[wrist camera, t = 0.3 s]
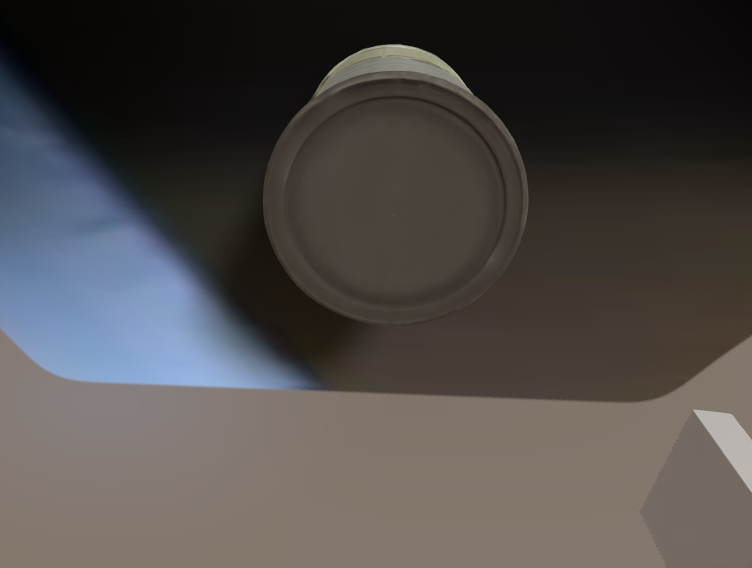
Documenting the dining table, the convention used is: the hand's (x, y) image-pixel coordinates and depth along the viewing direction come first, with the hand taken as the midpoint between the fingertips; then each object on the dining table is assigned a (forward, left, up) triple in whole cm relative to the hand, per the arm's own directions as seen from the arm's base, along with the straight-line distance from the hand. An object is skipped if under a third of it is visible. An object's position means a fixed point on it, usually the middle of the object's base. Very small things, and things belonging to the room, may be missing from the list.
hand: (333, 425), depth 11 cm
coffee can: (0, +1, -28) cm, 28 cm away
